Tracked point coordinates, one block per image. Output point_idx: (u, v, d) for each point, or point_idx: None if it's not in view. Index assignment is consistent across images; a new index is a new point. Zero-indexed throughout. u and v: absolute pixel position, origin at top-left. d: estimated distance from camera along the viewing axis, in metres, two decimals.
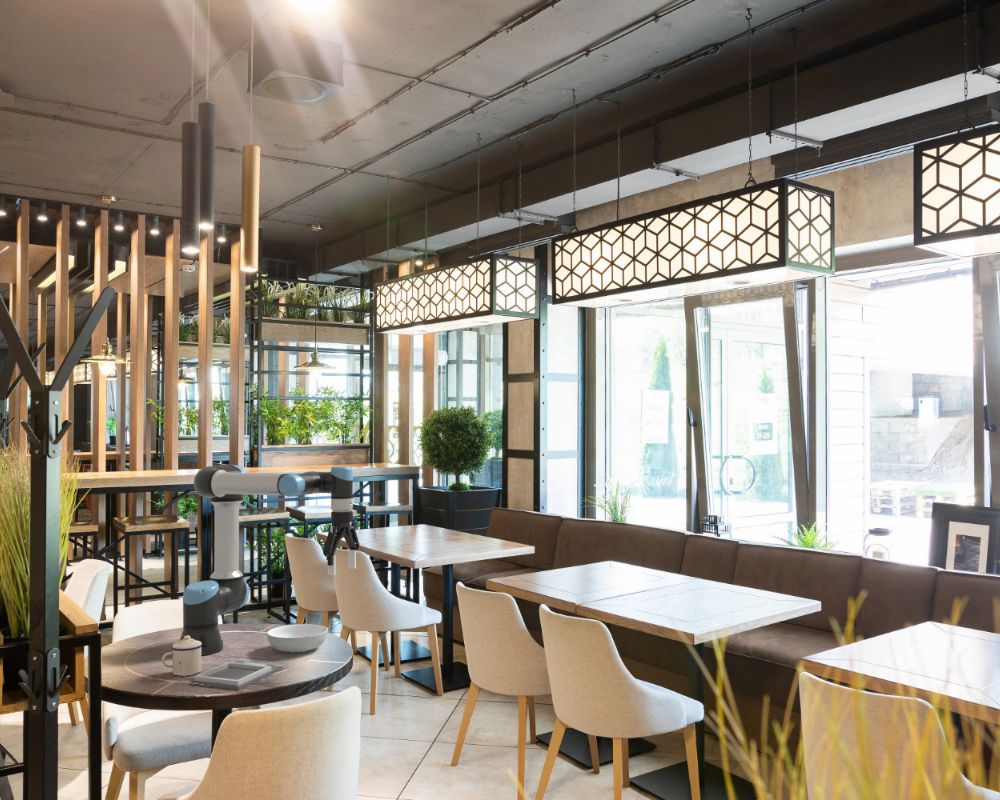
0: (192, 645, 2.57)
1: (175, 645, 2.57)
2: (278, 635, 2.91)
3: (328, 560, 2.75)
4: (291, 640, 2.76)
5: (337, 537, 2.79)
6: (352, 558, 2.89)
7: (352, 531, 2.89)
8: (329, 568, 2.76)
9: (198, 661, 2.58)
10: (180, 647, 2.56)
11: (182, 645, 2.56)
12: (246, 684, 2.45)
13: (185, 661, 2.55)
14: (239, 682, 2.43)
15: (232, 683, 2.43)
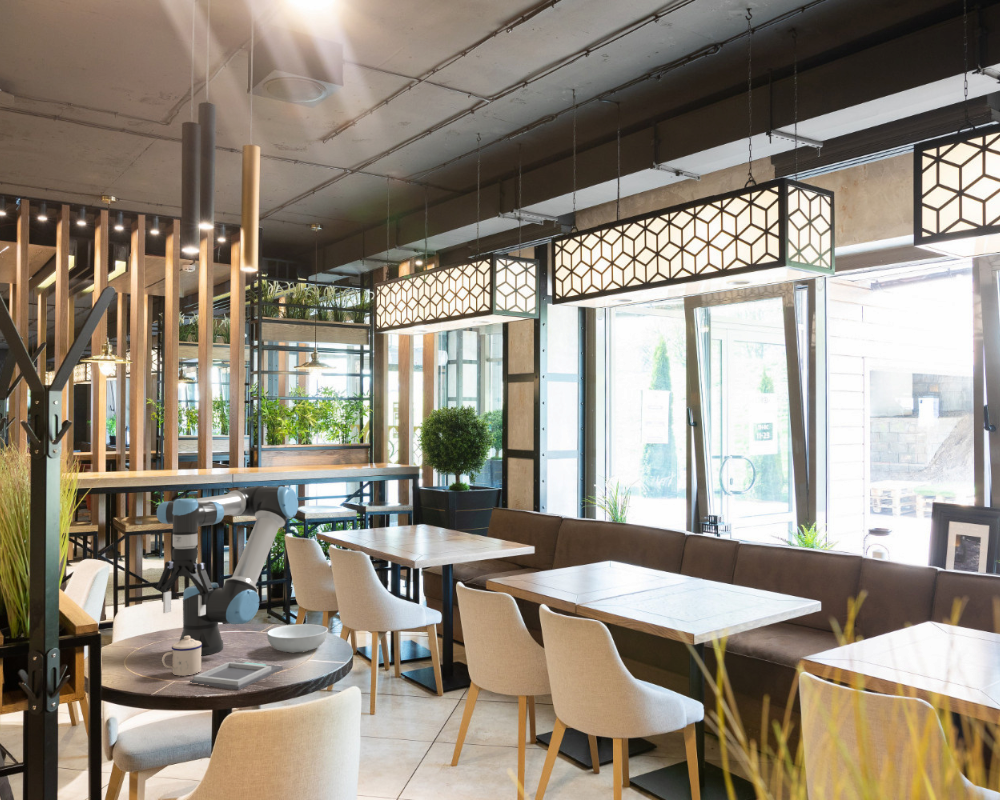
0: (192, 645, 2.57)
1: (175, 645, 2.57)
2: (278, 635, 2.91)
3: None
4: (291, 640, 2.76)
5: None
6: None
7: None
8: None
9: (198, 661, 2.58)
10: (180, 647, 2.56)
11: (182, 645, 2.56)
12: (246, 684, 2.45)
13: (185, 661, 2.55)
14: (239, 682, 2.43)
15: (232, 683, 2.43)
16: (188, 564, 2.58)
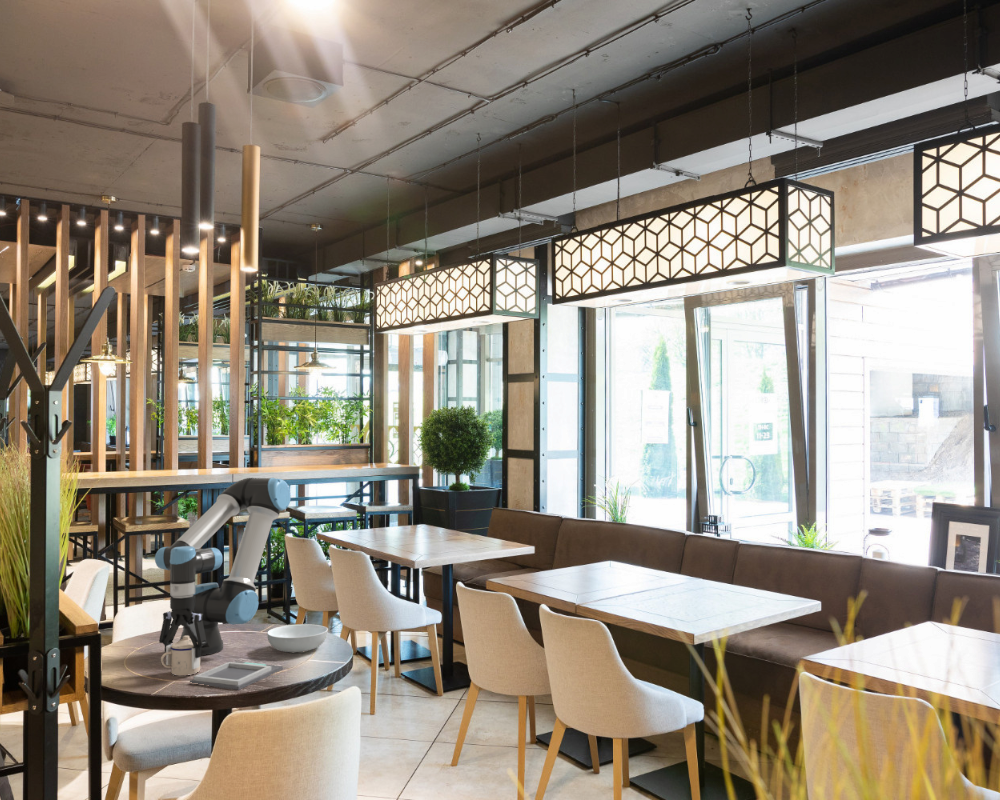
0: (191, 645, 2.57)
1: (174, 645, 2.57)
2: (278, 635, 2.91)
3: None
4: (291, 640, 2.76)
5: None
6: None
7: None
8: None
9: None
10: (179, 647, 2.56)
11: (181, 645, 2.57)
12: (246, 684, 2.45)
13: (184, 661, 2.55)
14: (239, 682, 2.43)
15: (232, 683, 2.43)
16: (186, 613, 2.57)
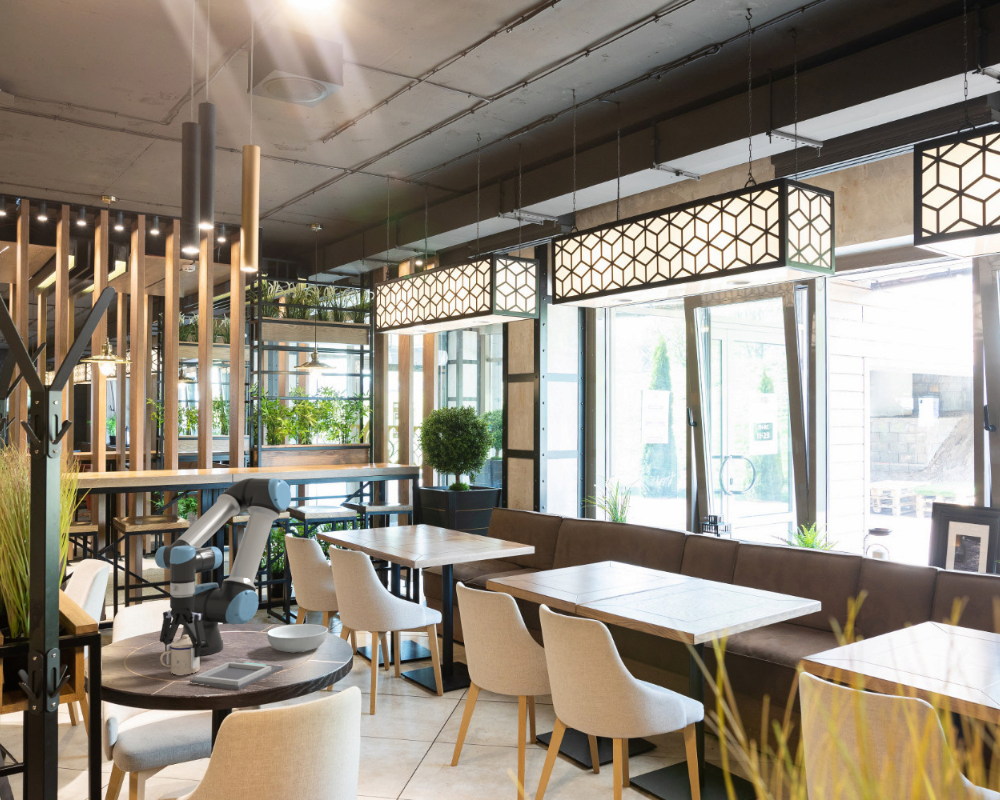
0: (190, 644, 2.58)
1: (173, 644, 2.58)
2: (278, 635, 2.91)
3: None
4: (291, 640, 2.76)
5: None
6: None
7: None
8: None
9: None
10: (178, 646, 2.56)
11: (180, 644, 2.57)
12: (246, 684, 2.45)
13: (183, 660, 2.56)
14: (239, 682, 2.43)
15: (232, 683, 2.43)
16: (186, 612, 2.58)
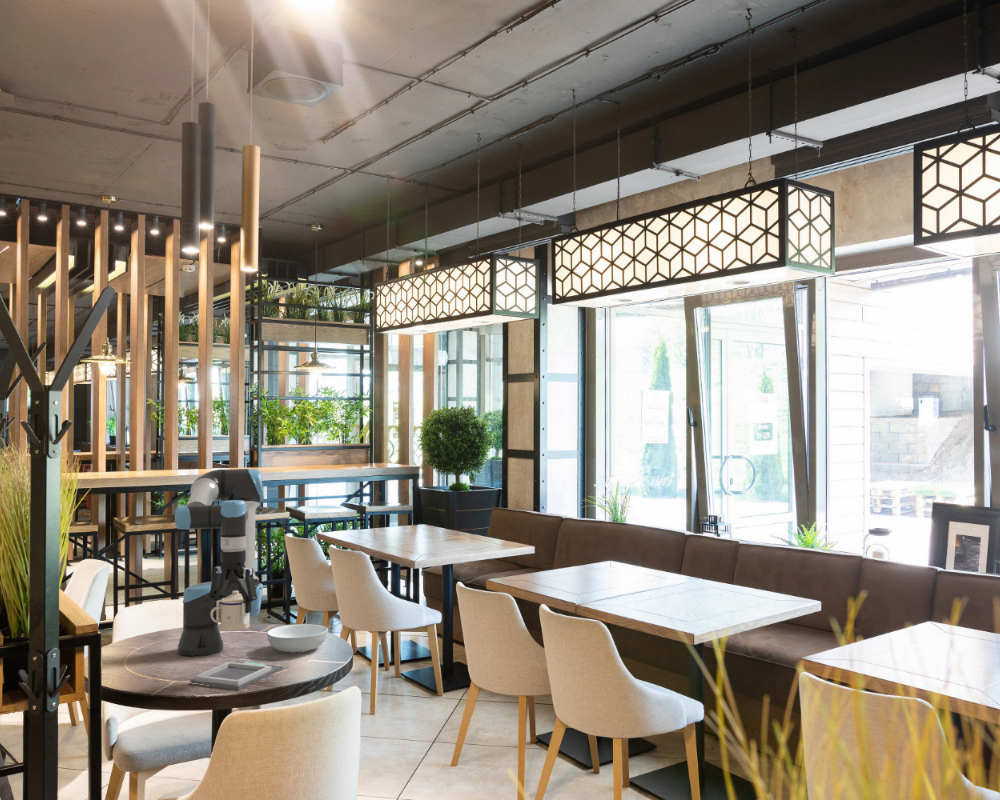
0: (241, 600, 2.52)
1: (223, 600, 2.53)
2: (278, 635, 2.91)
3: None
4: (291, 640, 2.76)
5: None
6: None
7: None
8: None
9: None
10: (229, 601, 2.51)
11: (231, 599, 2.52)
12: (246, 684, 2.45)
13: (234, 616, 2.51)
14: (239, 682, 2.43)
15: (232, 683, 2.43)
16: (237, 567, 2.53)
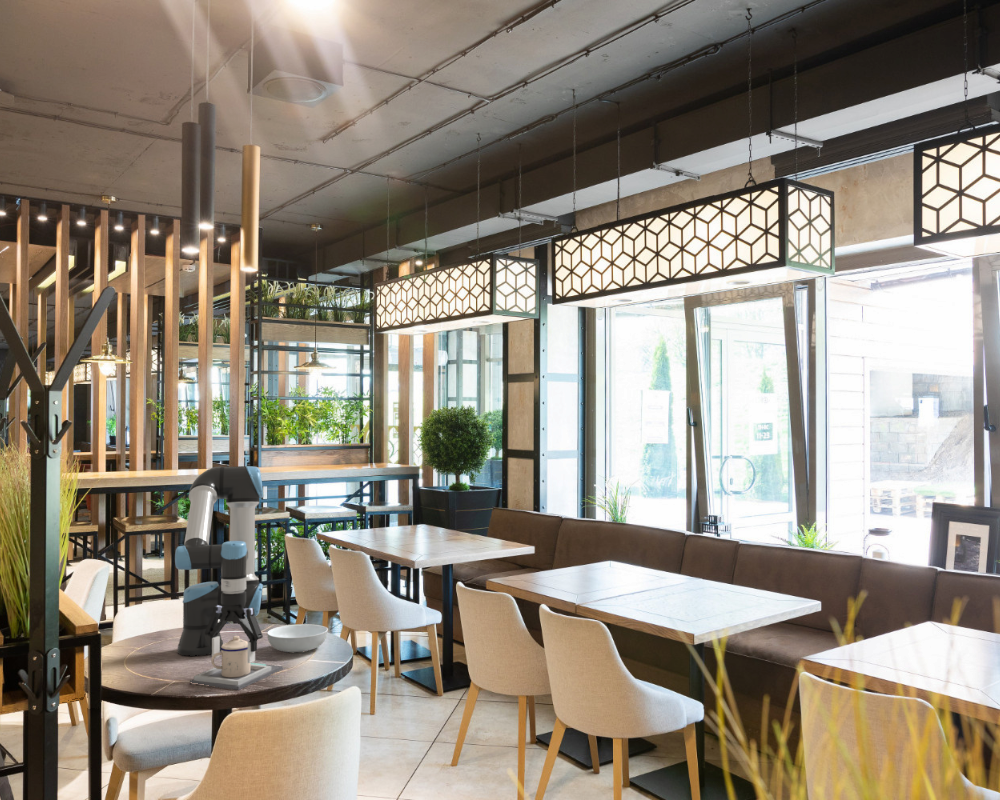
0: (242, 646, 2.52)
1: (224, 645, 2.52)
2: (278, 635, 2.91)
3: None
4: (291, 640, 2.76)
5: None
6: None
7: None
8: None
9: (247, 662, 2.53)
10: (230, 648, 2.51)
11: (232, 646, 2.51)
12: (246, 684, 2.45)
13: (235, 662, 2.50)
14: (239, 682, 2.43)
15: (232, 683, 2.43)
16: (237, 609, 2.52)
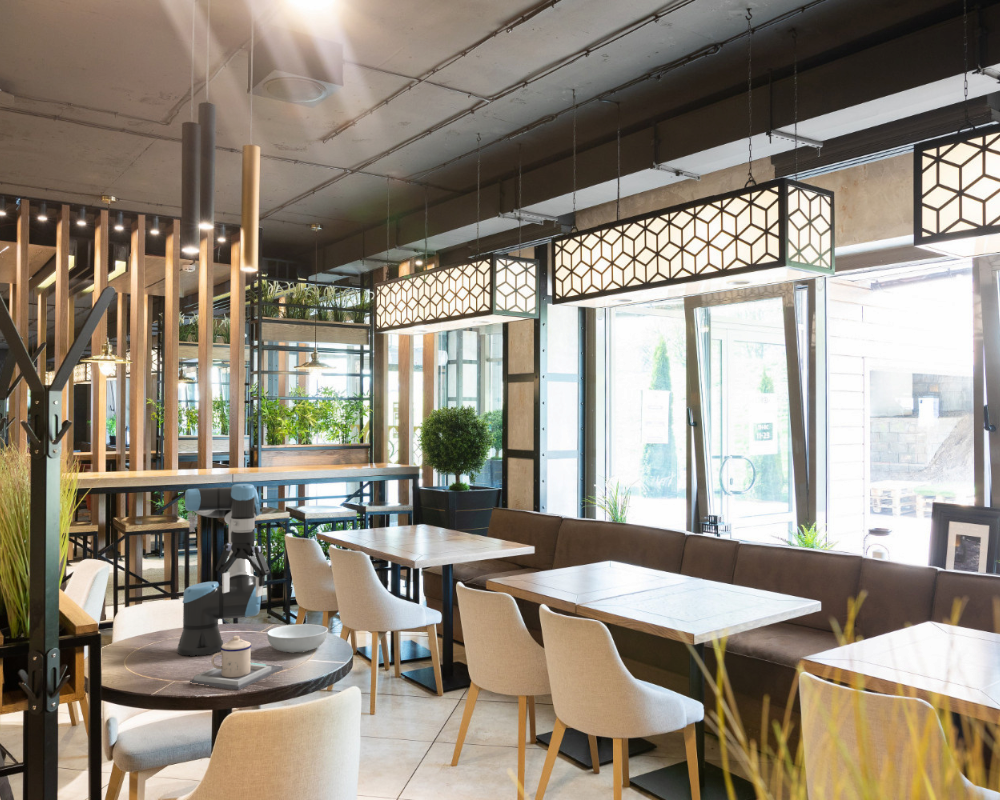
0: (242, 646, 2.52)
1: (224, 645, 2.52)
2: (278, 635, 2.91)
3: None
4: (291, 640, 2.76)
5: None
6: None
7: None
8: None
9: (247, 662, 2.53)
10: (230, 648, 2.51)
11: (232, 646, 2.51)
12: (246, 684, 2.45)
13: (235, 662, 2.50)
14: (239, 682, 2.43)
15: (232, 683, 2.43)
16: (246, 547, 2.69)
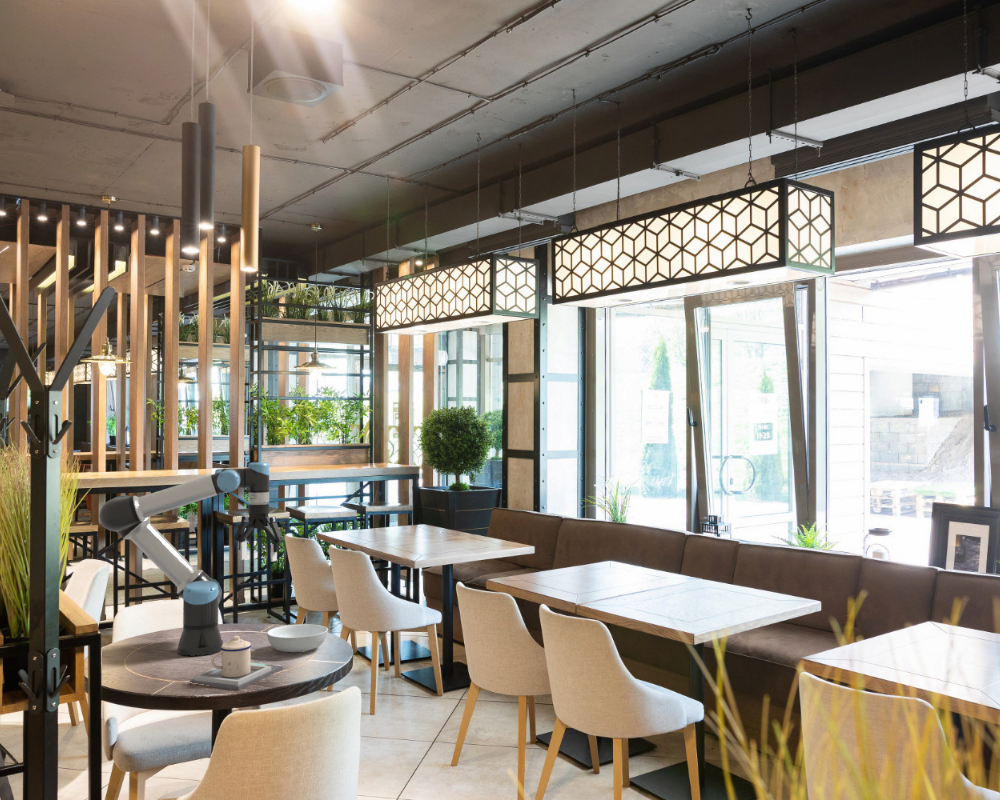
0: (241, 646, 2.52)
1: (224, 645, 2.52)
2: (278, 635, 2.91)
3: None
4: (291, 640, 2.76)
5: None
6: None
7: None
8: None
9: (247, 662, 2.53)
10: (230, 648, 2.51)
11: (231, 646, 2.51)
12: (246, 684, 2.45)
13: (235, 662, 2.50)
14: (239, 682, 2.43)
15: (232, 683, 2.43)
16: (262, 518, 3.03)
